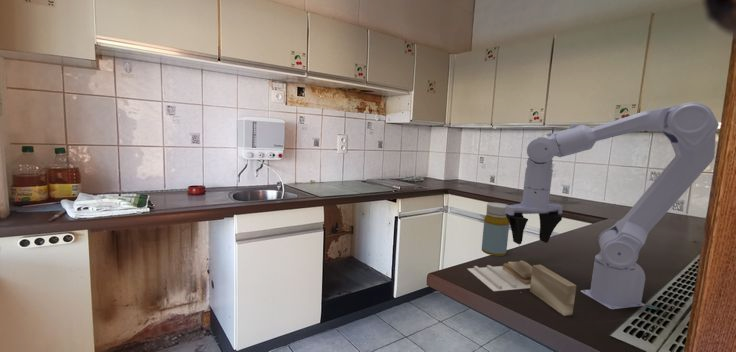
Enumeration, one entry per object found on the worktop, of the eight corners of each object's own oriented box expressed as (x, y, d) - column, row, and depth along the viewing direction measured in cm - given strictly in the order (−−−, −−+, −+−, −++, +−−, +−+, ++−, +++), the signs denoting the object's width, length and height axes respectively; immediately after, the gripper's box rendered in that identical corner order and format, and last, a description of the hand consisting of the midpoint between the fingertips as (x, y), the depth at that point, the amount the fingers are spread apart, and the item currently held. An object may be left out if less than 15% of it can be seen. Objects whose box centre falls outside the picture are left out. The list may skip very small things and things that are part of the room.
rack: (522, 266, 91) (523, 260, 91) (556, 287, 80) (557, 280, 80) (466, 270, 88) (467, 264, 87) (493, 293, 76) (494, 286, 76)
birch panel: (537, 291, 77) (540, 264, 76) (572, 315, 67) (576, 285, 66) (529, 291, 77) (532, 265, 76) (563, 316, 67) (568, 286, 66)
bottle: (499, 249, 104) (504, 202, 102) (510, 258, 97) (515, 208, 95) (477, 248, 104) (482, 201, 101) (486, 257, 97) (491, 207, 95)
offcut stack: (519, 267, 89) (520, 258, 89) (544, 283, 81) (545, 273, 80) (501, 268, 88) (502, 260, 88) (524, 284, 80) (525, 275, 79)
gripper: (549, 184, 85) (543, 235, 87) (500, 185, 82) (494, 237, 84) (572, 190, 79) (565, 245, 81) (519, 190, 75) (512, 248, 77)
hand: (530, 242), depth 82 cm, fingers open, 7 cm apart
